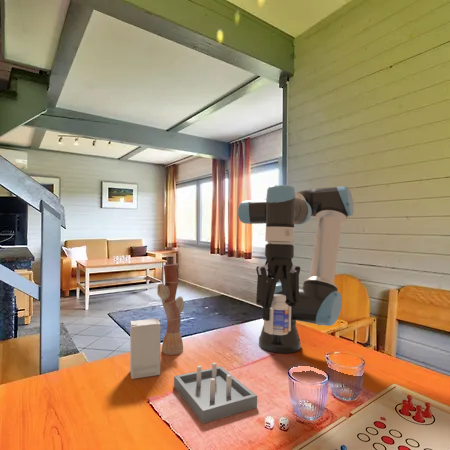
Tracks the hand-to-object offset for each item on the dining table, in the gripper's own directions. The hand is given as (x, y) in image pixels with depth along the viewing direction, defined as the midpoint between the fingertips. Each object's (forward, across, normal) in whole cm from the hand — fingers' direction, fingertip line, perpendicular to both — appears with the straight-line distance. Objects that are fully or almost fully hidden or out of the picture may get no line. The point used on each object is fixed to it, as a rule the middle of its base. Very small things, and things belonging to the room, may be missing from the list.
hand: (277, 331), depth 81 cm
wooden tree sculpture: (+15, -15, +38) cm, 44 cm away
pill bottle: (+1, 0, 0) cm, 1 cm away
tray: (+15, -16, +5) cm, 23 cm away
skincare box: (+16, -27, +26) cm, 40 cm away
